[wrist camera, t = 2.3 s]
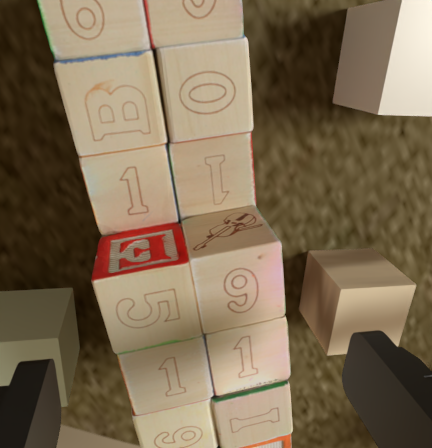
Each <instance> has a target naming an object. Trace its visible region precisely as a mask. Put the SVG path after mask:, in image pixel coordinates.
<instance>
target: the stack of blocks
mask: <svg viewBox="0 0 432 448" xmlns="http://www.w3.org/2000/svg"><path fill="white" fill-rule="evenodd" d="M37 3H38V7H39V10H40V14H41V18H42V22H43V26H44V29H45V33H46V36H47V39H48V42H49V46H50V49H51V52H52V54H53V57H54V64H53V66H54V70H55V75H56V78H57V82H58V86H59V89H60V93H61V97H62V100H63V104H64V107H65V111H66V115H67V118H68V122H69V125H70V129H71V132H72V136H73V140H74V143H75V147H76V151H77V153H78V155H79V162H80V168H81V171H82V174H83V178H84V182H85V186H86V189H87V193H88V196H89V199H90V202H91V206H92V209H93V213H94V216H95V220H96V223H97V226H98V229H99V231H100V233H101V234H102V237H101V238H100V240H99V244H98V250H97V255H96V258H95V263H94V269H93V273H92V280H91V281H92V285H93V288H94V291H95V295H96V298H97V301H98V304H99V307H100V310H101V314H102V317H103V320H104V323H105V327H106V330H107V333H108V336H109V340H110V343H111V346H112V349H113V352H114V353H116V354H117V357H118V360H119V364H120V368H121V372H122V375H123V379H124V382H125V385H126V388H127V391H128V395H129V399H130V402H131V405H132V419H133V423H134V426H135V430H136V433H137V436H138V440H139V443H140V446H141V448H292V446H291V433H292V431H293V426H292V411H291V395H290V385H289V382H288V378H289V376H290V374H291V370H290V354H289V338H288V324H287V319H286V316H285V312H286V304H285V289H284V273H283V259H282V244H281V241H280V240H279V239H278V237H277V236H276V234H275V233H274V232H273V230H272V229H271V227H270V226H269V225H268V223H267V222H266V220H265V219H264V217H263V216H262V214H261V213H260V212H259V210H258V209H257V207H256V193H255V178H254V164H253V147H252V135H251V132H252V130H253V110H252V90H251V76H250V62H249V48H248V40H247V38H246V37H245V36H244V30H243V8H242V0H37Z"/></svg>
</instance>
